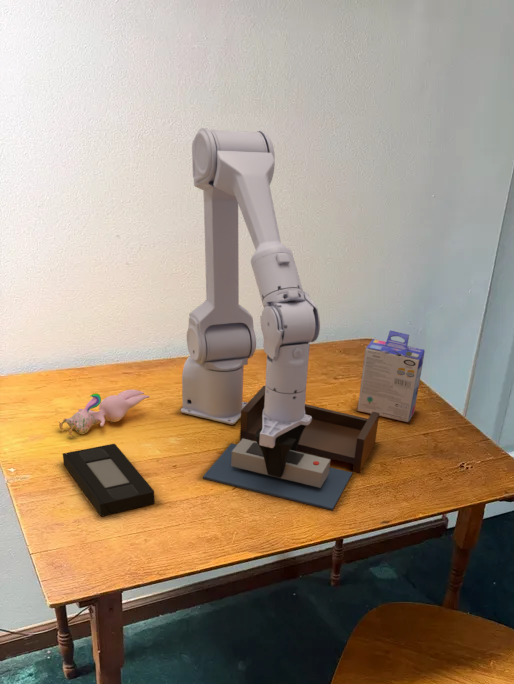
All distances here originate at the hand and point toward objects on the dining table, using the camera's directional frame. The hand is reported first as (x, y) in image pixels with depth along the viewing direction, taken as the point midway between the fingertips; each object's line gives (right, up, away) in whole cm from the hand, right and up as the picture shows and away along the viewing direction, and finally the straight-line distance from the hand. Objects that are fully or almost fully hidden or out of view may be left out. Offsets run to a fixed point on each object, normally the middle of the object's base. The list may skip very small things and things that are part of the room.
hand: (280, 467), depth 119 cm
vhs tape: (-23, -3, -7) cm, 25 cm away
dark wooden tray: (+3, +5, +10) cm, 12 cm away
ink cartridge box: (+15, +12, +24) cm, 31 cm away
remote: (0, 0, 0) cm, 0 cm away
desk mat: (0, -1, +1) cm, 2 cm away
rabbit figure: (-29, +8, +6) cm, 30 cm away
